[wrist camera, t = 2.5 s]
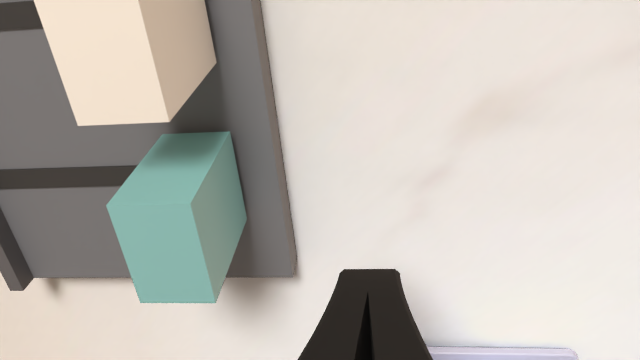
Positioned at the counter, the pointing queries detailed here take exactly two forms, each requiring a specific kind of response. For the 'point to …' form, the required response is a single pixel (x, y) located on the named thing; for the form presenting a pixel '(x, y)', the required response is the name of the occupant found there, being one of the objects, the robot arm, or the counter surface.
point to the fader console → (128, 153)
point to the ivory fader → (128, 56)
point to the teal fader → (181, 218)
